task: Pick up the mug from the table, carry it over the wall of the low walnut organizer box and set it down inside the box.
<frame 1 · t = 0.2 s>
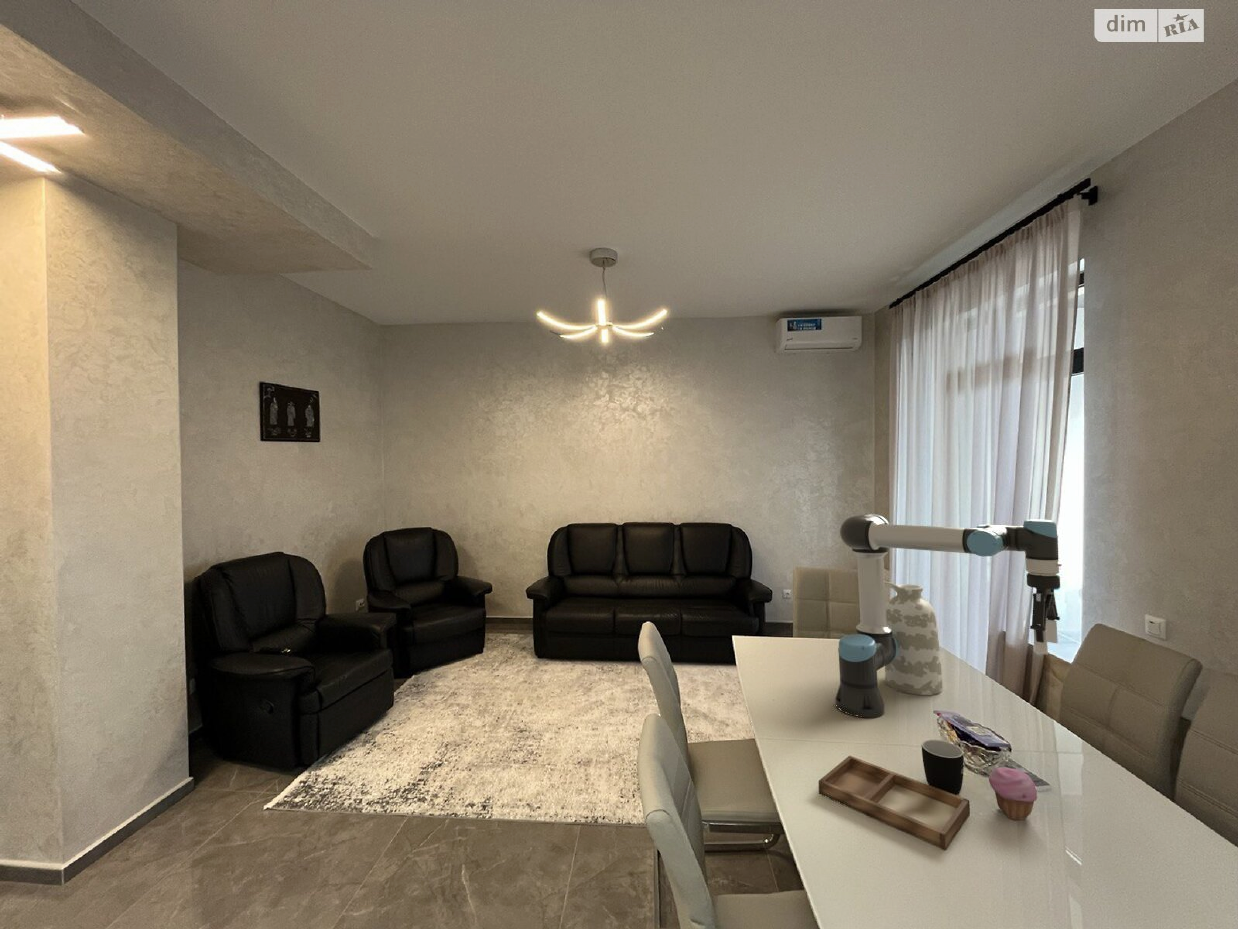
hand: (1046, 647, 151), 28 cm above the table, fingers open, 13 cm apart
vase: (911, 686, 196), on the table
organizer box: (891, 803, 126), on the table
mug: (942, 786, 133), on the table
cupcake: (1014, 815, 121), on the table
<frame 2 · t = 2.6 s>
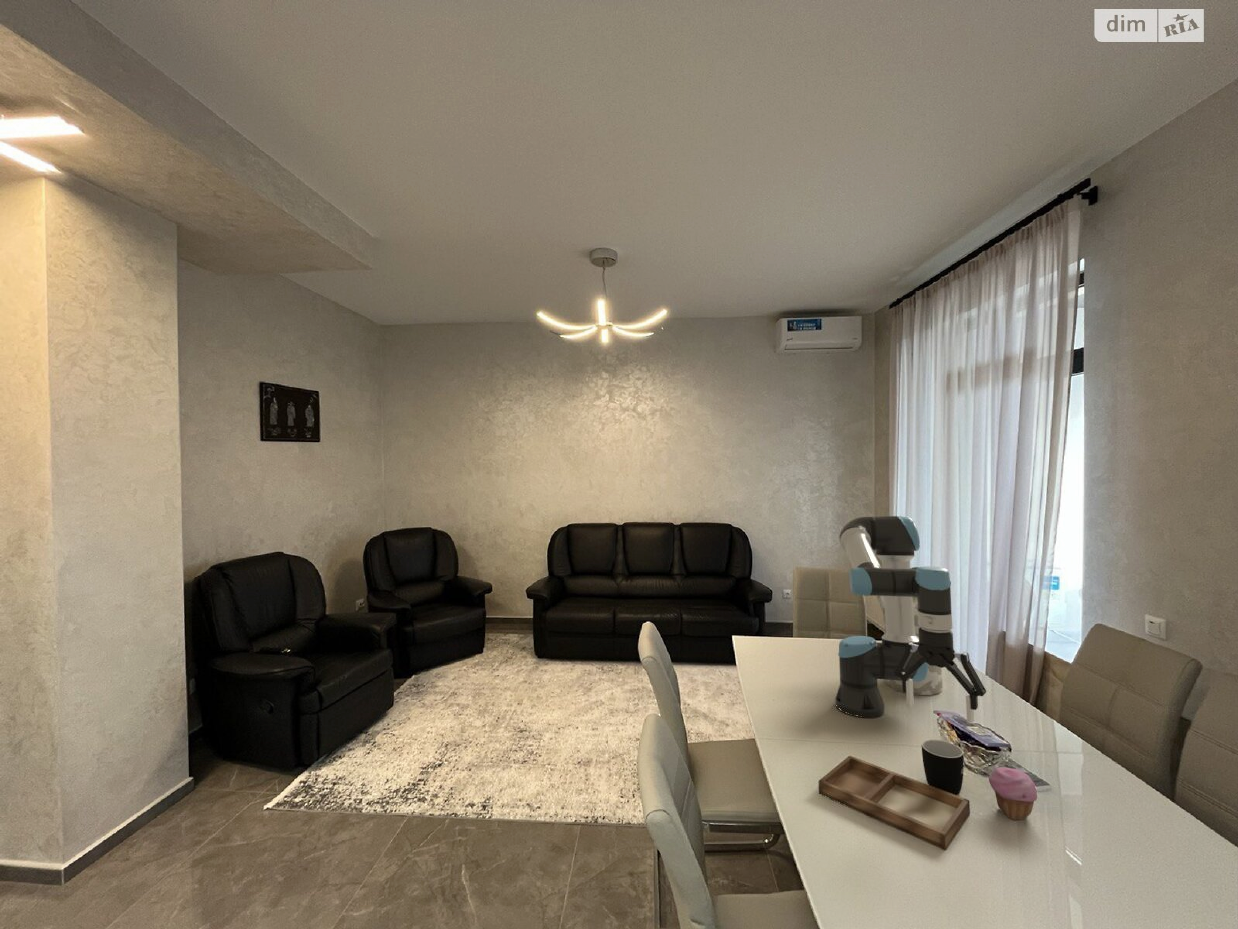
hand: (939, 713, 133), 18 cm above the table, fingers open, 13 cm apart
nothing on the table moved.
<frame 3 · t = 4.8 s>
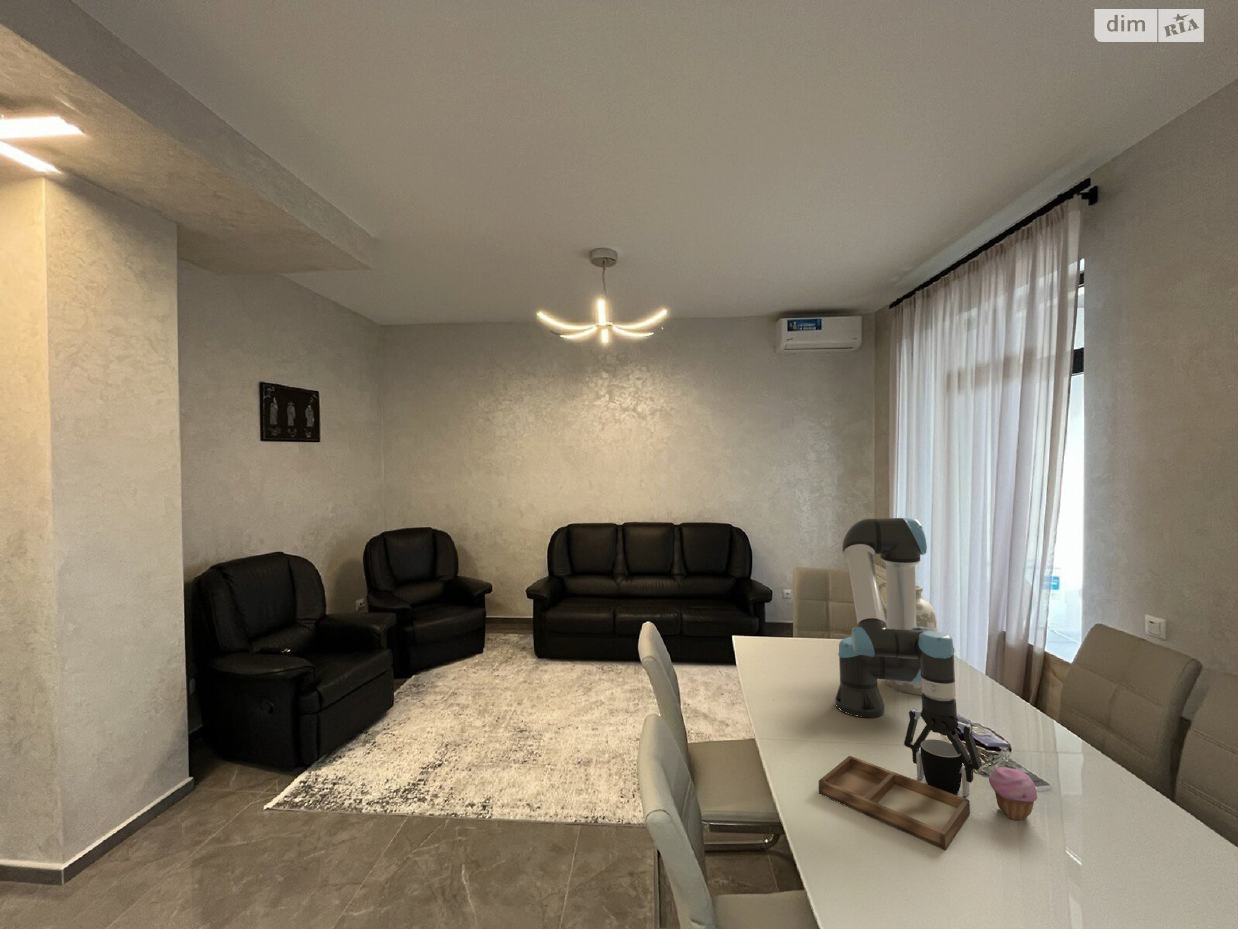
hand: (942, 785, 133), 0 cm above the table, fingers open, 9 cm apart
mug: (941, 786, 133), on the table, touching gripper
everything else where it was.
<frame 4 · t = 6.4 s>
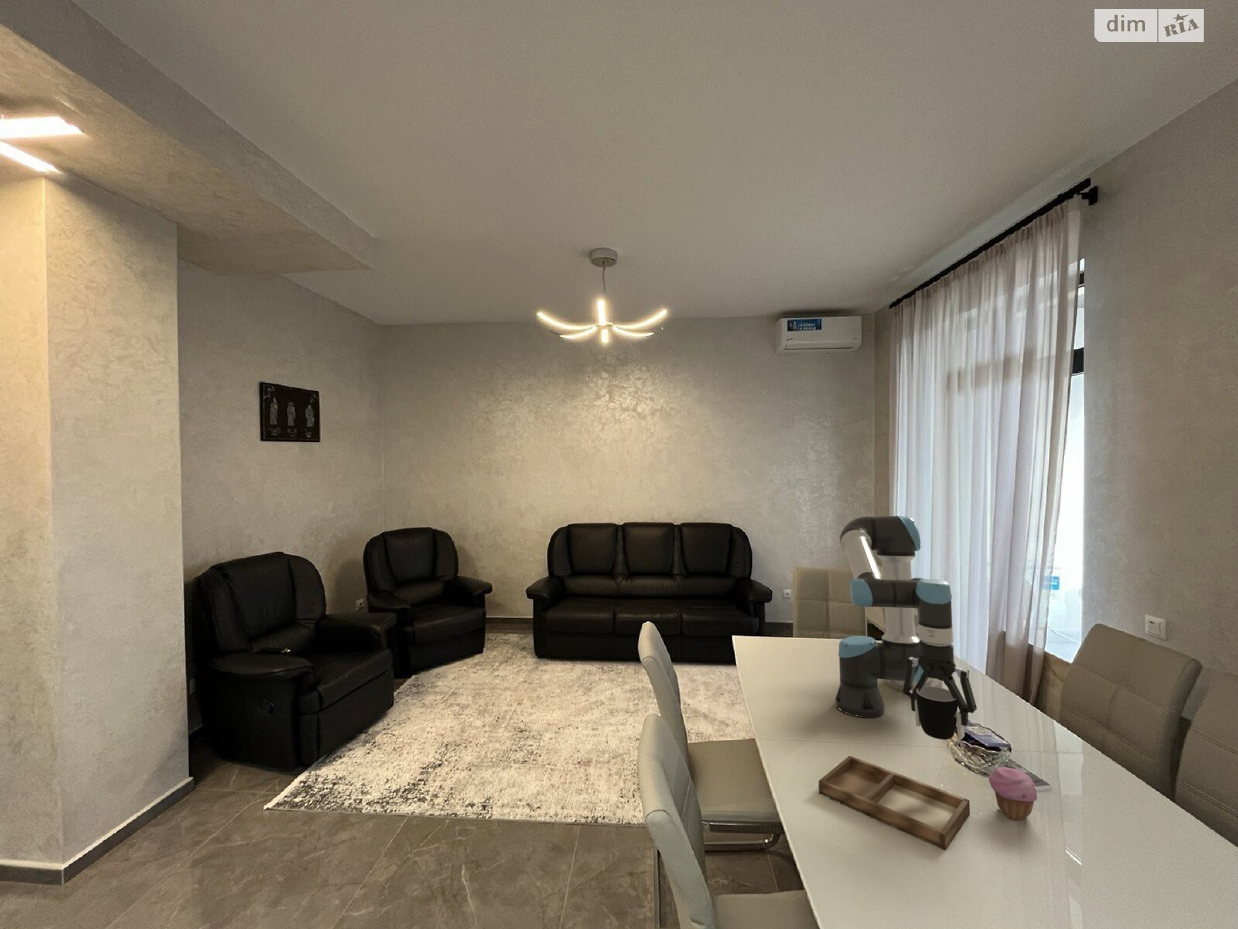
hand: (939, 730, 134), 14 cm above the table, fingers closed on mug, 9 cm apart
mug: (936, 731, 134), point 13 cm above the table, touching gripper
everything else where it was.
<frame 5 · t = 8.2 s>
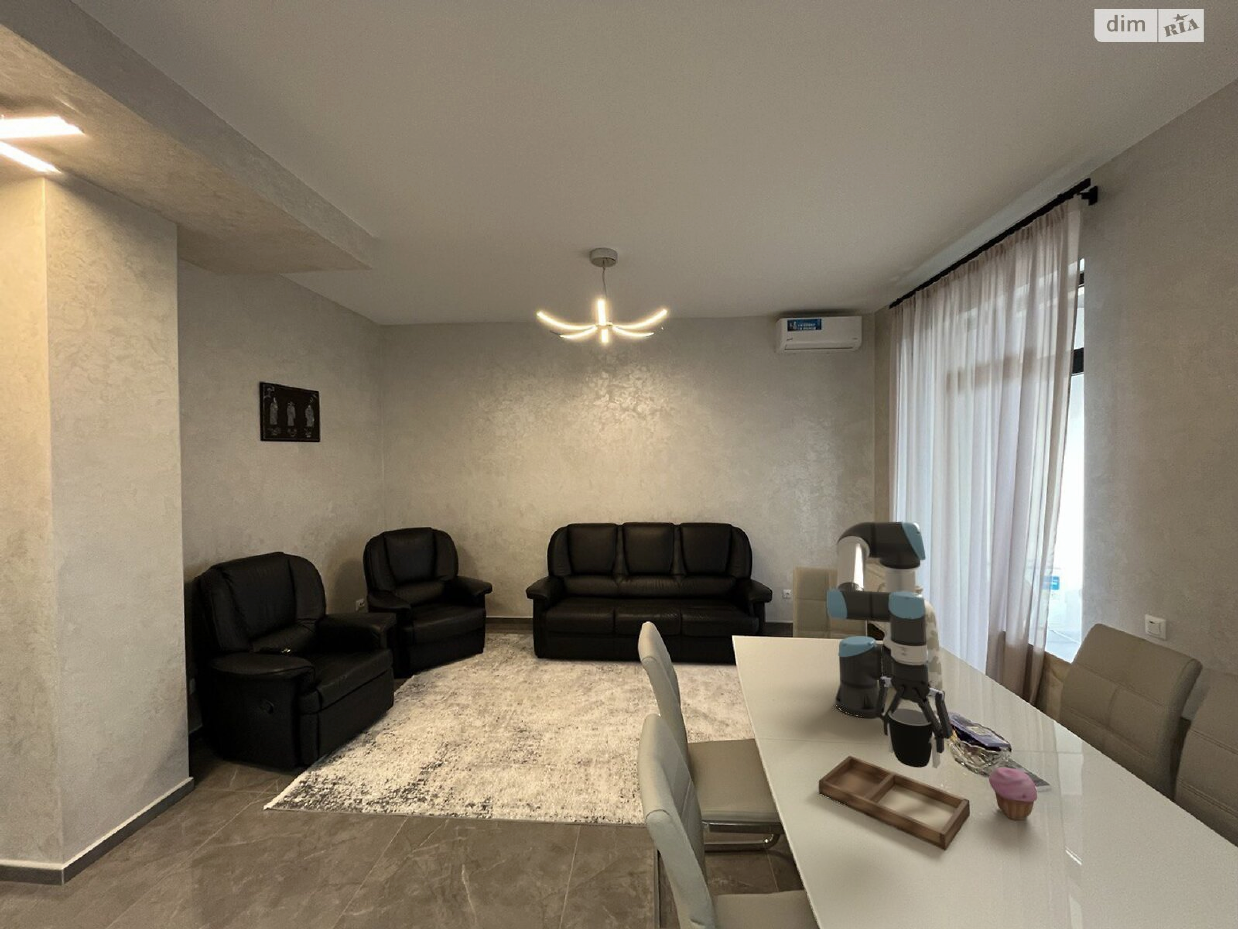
hand: (913, 757, 123), 13 cm above the table, fingers closed on mug, 9 cm apart
mug: (911, 758, 123), point 13 cm above the table, touching gripper
everything else where it was.
when the fingers open (4 cm above the table, at t = 10.6 s): mug drops 2 cm, resting on organizer box.
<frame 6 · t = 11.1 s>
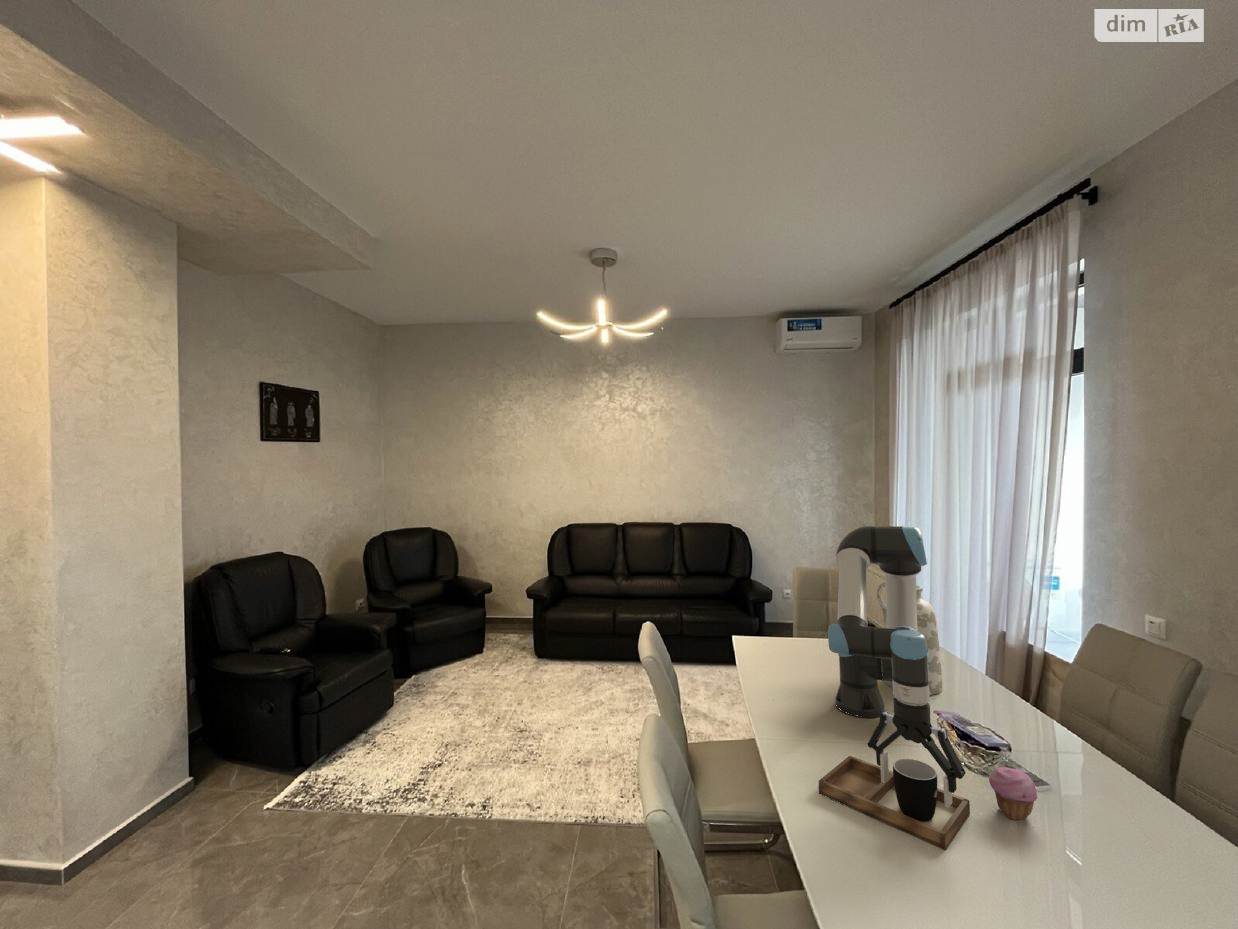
hand: (915, 792, 123), 5 cm above the table, fingers open, 13 cm apart
mug: (915, 810, 123), point 1 cm above the table, touching organizer box
everything else where it was.
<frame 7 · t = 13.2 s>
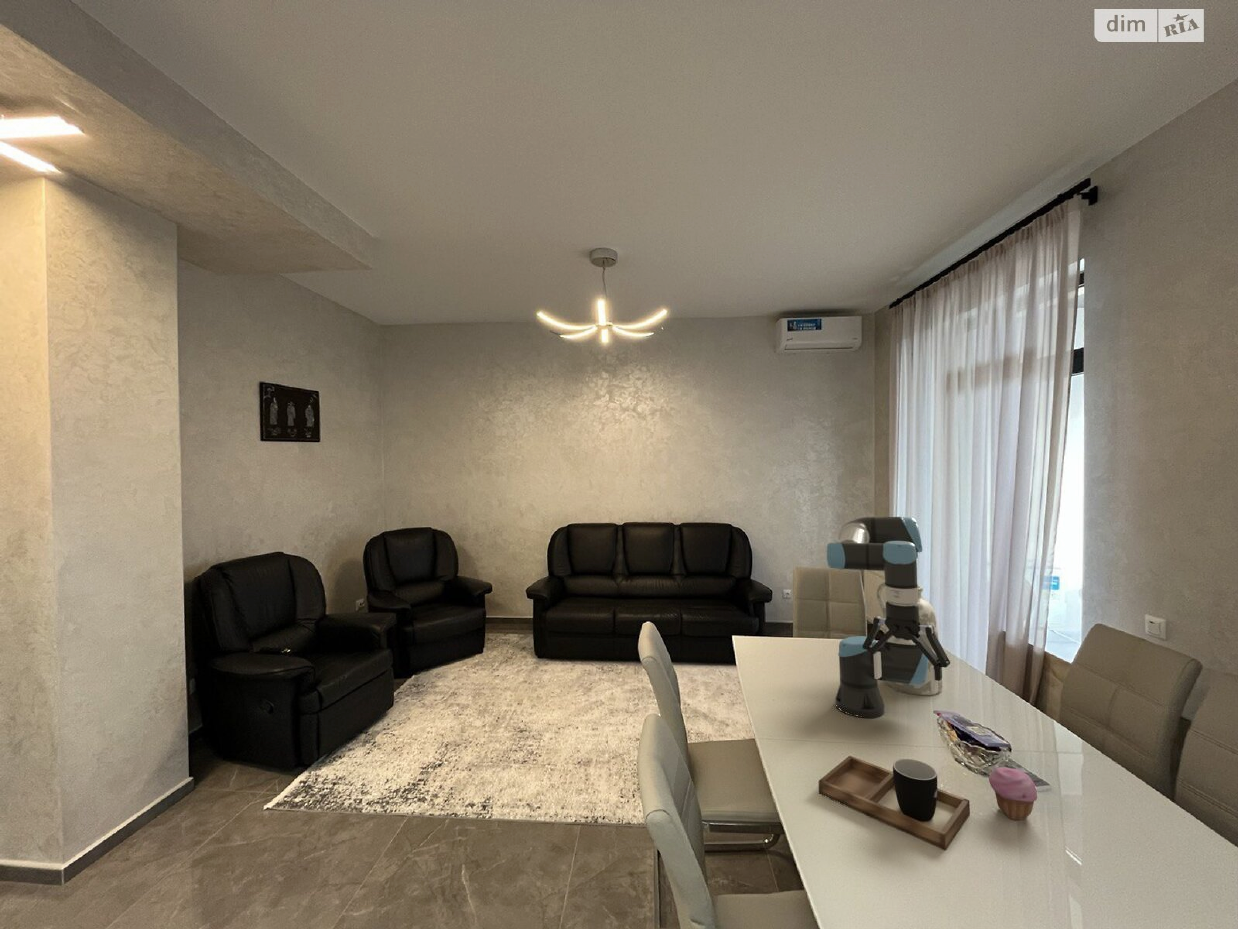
hand: (905, 684, 135), 25 cm above the table, fingers open, 13 cm apart
nothing on the table moved.
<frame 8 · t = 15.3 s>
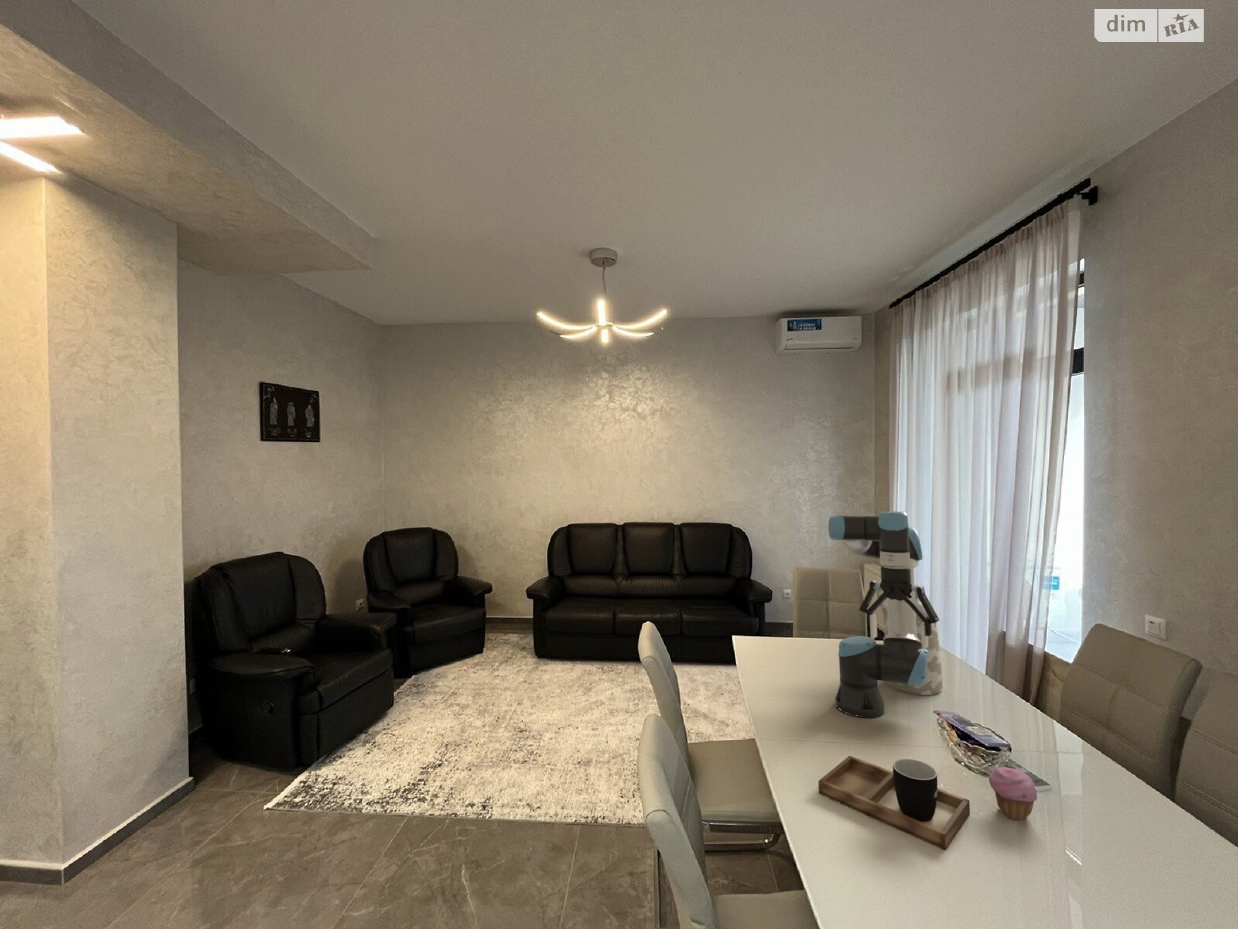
hand: (898, 642, 148), 32 cm above the table, fingers open, 13 cm apart
nothing on the table moved.
at the end: mug inside the target area on the organizer box (0.2 cm from its centre), point 0.7 cm above the organizer box's base; mug tilted 0°; the gripper is holding nothing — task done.
